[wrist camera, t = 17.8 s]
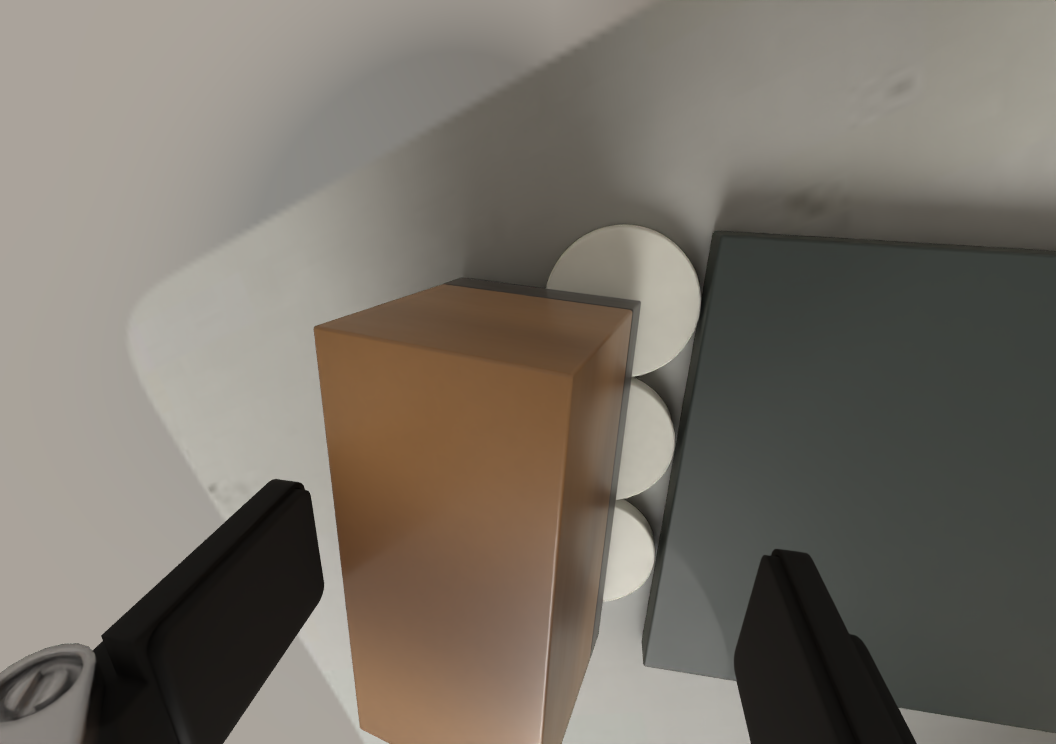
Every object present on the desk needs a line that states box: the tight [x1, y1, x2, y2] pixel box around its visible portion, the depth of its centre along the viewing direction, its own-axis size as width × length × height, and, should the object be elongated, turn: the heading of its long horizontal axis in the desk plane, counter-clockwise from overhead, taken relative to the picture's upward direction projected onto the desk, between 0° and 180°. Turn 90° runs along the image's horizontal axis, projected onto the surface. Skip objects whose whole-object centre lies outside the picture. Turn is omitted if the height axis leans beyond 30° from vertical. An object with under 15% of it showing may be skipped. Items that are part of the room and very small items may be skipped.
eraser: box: [314, 278, 641, 744], centre depth 13 cm, size 11×5×6 cm, turn 177°
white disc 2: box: [616, 377, 675, 500], centre depth 15 cm, size 4×4×1 cm
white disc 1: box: [546, 224, 701, 377], centre depth 13 cm, size 4×4×1 cm
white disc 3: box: [603, 499, 655, 602], centre depth 16 cm, size 4×4×1 cm
